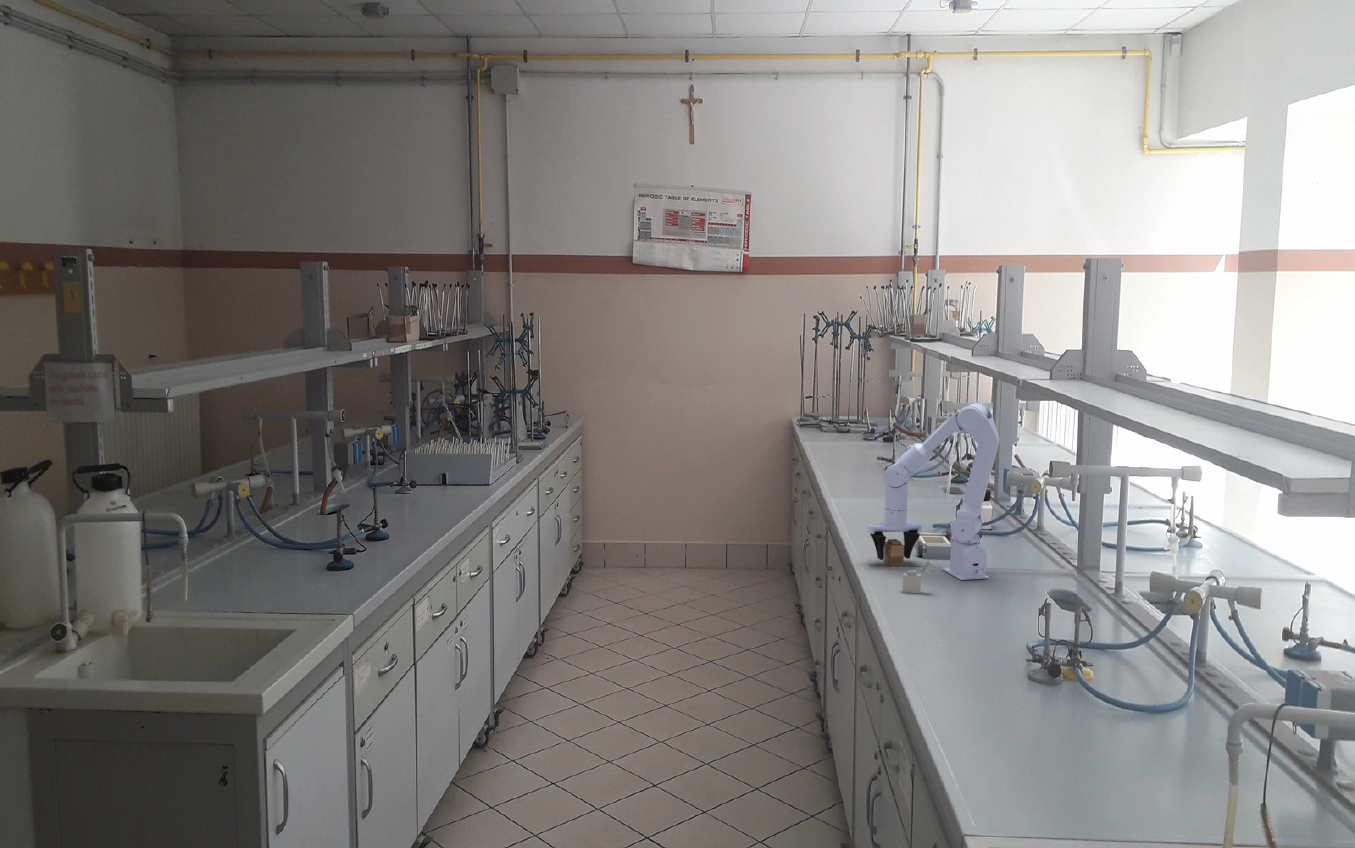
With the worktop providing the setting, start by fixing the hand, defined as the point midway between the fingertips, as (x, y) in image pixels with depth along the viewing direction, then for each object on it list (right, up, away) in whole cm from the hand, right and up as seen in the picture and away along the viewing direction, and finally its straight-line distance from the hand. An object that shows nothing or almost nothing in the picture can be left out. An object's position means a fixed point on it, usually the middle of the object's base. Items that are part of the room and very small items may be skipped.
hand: (893, 558), depth 257 cm
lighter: (0, -5, -24) cm, 25 cm away
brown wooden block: (0, -1, 0) cm, 2 cm away
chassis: (+15, +1, +16) cm, 22 cm away
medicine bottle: (+36, +4, +42) cm, 55 cm away
